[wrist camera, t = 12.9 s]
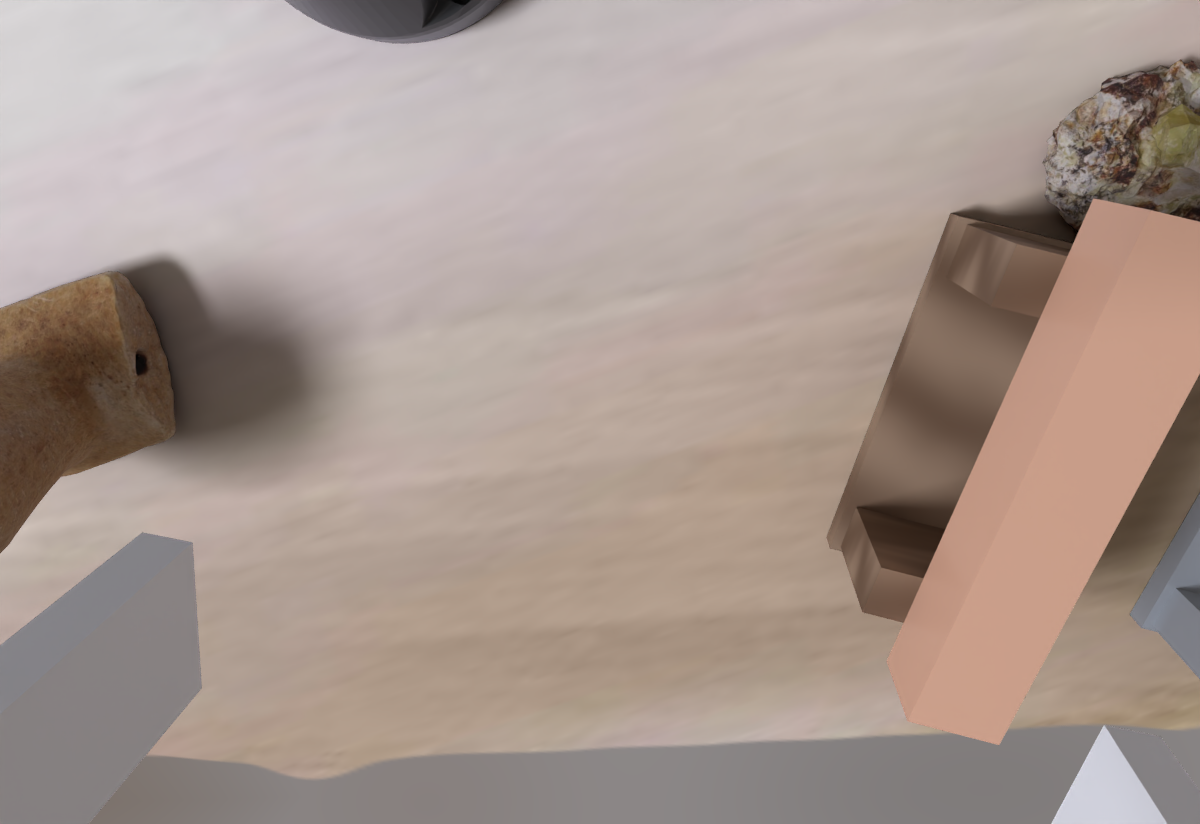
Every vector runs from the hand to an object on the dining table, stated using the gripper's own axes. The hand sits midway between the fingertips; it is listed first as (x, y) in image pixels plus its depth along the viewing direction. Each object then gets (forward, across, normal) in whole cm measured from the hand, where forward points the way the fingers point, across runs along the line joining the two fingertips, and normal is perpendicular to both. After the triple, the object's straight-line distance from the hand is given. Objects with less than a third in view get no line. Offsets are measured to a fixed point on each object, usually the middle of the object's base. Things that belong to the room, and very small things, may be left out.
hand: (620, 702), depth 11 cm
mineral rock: (+31, +20, +8) cm, 38 cm away
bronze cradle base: (+30, +16, -4) cm, 34 cm away
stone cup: (+30, -33, -13) cm, 46 cm away
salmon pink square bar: (+23, +16, -4) cm, 28 cm away
